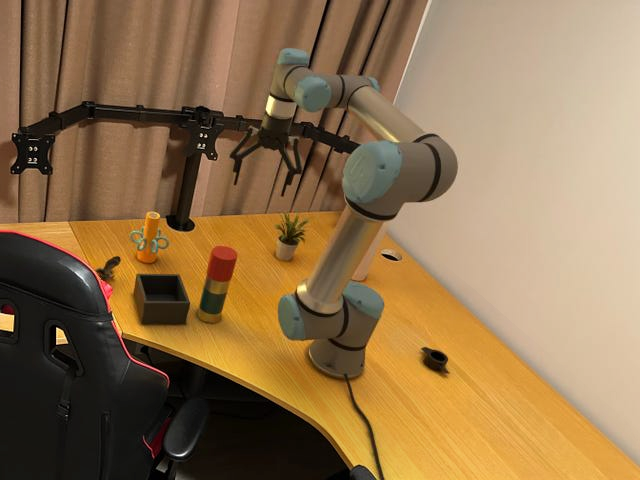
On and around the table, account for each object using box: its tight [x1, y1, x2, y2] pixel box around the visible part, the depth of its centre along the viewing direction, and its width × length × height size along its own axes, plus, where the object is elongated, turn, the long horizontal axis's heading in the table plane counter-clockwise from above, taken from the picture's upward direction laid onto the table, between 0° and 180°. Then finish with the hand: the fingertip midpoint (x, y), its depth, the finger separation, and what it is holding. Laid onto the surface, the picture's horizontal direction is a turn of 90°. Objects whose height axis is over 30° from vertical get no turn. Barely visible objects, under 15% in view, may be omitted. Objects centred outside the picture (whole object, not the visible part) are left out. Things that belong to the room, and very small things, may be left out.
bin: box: [133, 273, 191, 325], centre depth 176 cm, size 14×13×7 cm
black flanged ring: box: [420, 346, 451, 375], centre depth 178 cm, size 8×10×3 cm
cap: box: [206, 245, 238, 282], centre depth 168 cm, size 7×7×7 cm
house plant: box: [274, 209, 315, 262], centre depth 205 cm, size 14×14×16 cm
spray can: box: [197, 274, 231, 324], centre depth 175 cm, size 7×7×16 cm
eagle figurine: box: [94, 255, 122, 282], centre depth 184 cm, size 8×7×9 cm
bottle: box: [351, 221, 389, 282], centre depth 199 cm, size 8×8×30 cm
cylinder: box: [129, 211, 170, 264], centre depth 193 cm, size 12×10×15 cm
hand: (258, 189), depth 179 cm, fingers open, 13 cm apart
